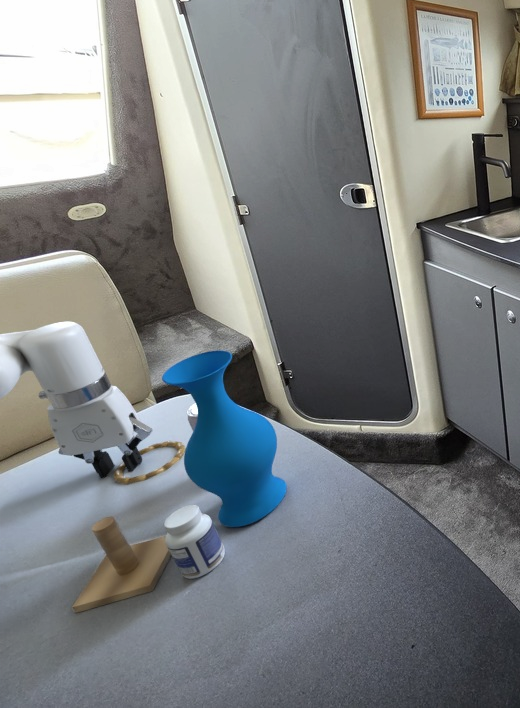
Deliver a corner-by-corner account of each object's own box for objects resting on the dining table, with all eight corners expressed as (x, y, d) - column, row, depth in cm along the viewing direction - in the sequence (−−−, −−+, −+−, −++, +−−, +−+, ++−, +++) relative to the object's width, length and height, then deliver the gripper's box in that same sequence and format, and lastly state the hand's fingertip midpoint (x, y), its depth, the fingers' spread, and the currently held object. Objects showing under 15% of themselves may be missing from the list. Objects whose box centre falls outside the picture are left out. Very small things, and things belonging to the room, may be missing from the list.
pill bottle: (222, 540, 78) (201, 494, 75) (229, 562, 75) (207, 515, 71) (180, 563, 75) (155, 516, 71) (184, 587, 71) (159, 539, 67)
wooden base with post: (75, 613, 68) (41, 562, 65) (111, 556, 76) (83, 508, 73) (153, 590, 71) (124, 540, 67) (180, 538, 79) (156, 490, 75)
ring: (103, 492, 88) (100, 487, 88) (133, 452, 98) (130, 448, 97) (172, 476, 91) (169, 471, 91) (195, 439, 100) (193, 434, 100)
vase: (301, 467, 92) (256, 337, 81) (284, 522, 81) (229, 380, 70) (227, 486, 89) (169, 353, 78) (198, 546, 77) (127, 400, 67)
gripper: (3, 415, 81) (54, 498, 87) (126, 391, 85) (165, 472, 92) (35, 389, 87) (80, 468, 94) (147, 368, 92) (183, 445, 99)
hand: (122, 469), depth 93 cm, fingers open, 3 cm apart
